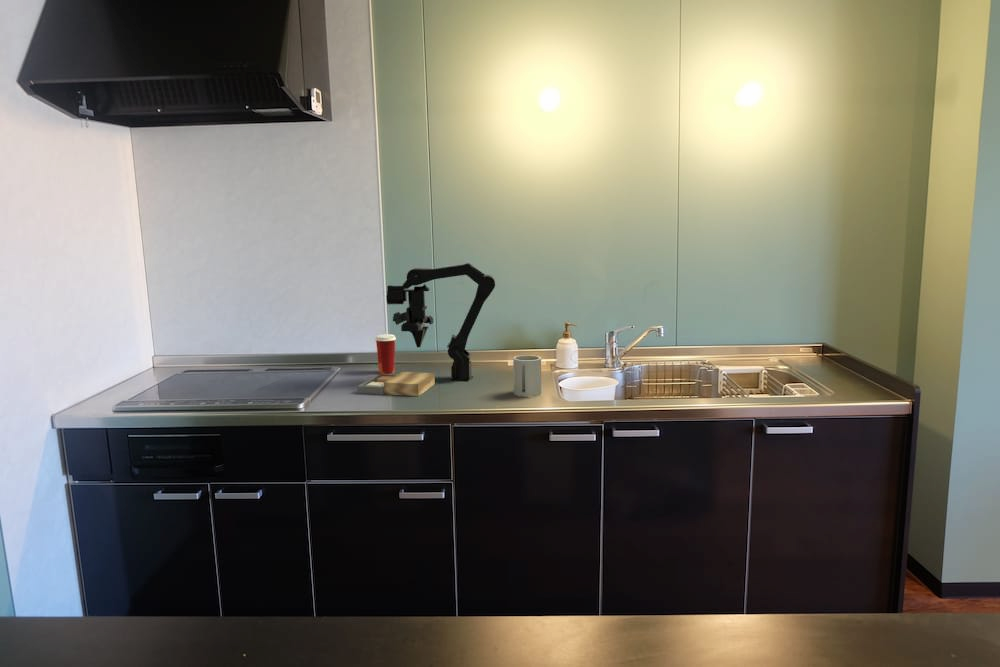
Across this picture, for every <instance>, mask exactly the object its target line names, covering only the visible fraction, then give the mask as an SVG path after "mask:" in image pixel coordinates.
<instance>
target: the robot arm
mask: <svg viewBox="0 0 1000 667" xmlns="http://www.w3.org/2000/svg"><path fill="white" fill-rule="evenodd" d="M459 276H461V277H462V276H467V277H468V278H470V279H471V280H472V281H474V282H475V283H476V285H477V288H476V292H475V296H474V298H473V301H472V303H471V305H470V306H469V310H468V311H467V313H466V316H465V318H464V320H463V323H462V325H461V327H460V330H459V331H458V333H457V334H456V335H455V334H452V335H451V339H450V341H449V342H448V343H447V346H446V347H447V354H448V357H449V358H450V359H452V360H453V361H452V365H451V366H450V371H451V372H450V374H451V379H450V380H451V381H465V382H467V381H470V380H472V378H474V375H473V374H472V370H473V369H472V361H471V360H470V359H471V353H470V352H469V351H468V350H466V346H467V343H468V338H469V336H470V333H471V331H472V329H473V327H474V325H475V322H476V320H477V319H478V316H479V314H480V312H481V310H482V307H483V306H484V303H485V301H486V300H488V297H490V295H491V294H492V293H493V291H494V289H495V287H496V281H495V278H494V277H493V276H492V275H490V274H485V273H484V272H482V271H481V270H479V269H478V268H476V267H475V266H473V264H471V263H469V262H465V263H463V264H456V265H449V266H442V267H435V268H426V267H413V268H412V269H410V270H409V271H408V272H407V273H406V280H405V281H404V282H403V283H402V285H391V284H390V285H387V287H386V289H387V291H386V295H385V296H386V304H387V305H388V306H389V305H390V306H391V305H392V306H393V305H405V304H404V303H405V302H407V301H408V306H407V308H406V309H405V310H406V311H404V312H402V313H401V312H399V311H398V312H397V311H396V312H394V313H393V316H392V321H393V322H395V325H396V326H398V325H399V324H401V325H400V330H401V331H400V332H409V333H411V334H412V337H413V339H414V343H415V346H416V348H421V347H422V344H423V342H424V339H425V336H426V334H427V331H428V330H429V326H425V324H429V325H433V324H434V318H433V317H432V315H426V310H427V308H428V306H427V305H426V302H425V301H426V300H425V297H426V296H425V292H429V291H430V290H431V289H430V287H429V286H427V285H426V283H428V282H431V281H433V280H439V279H446V278H453V277H459ZM422 284H423V285H422ZM421 285H422V286H421ZM413 286H414V287H413ZM411 287H413V288H412V289H411Z"/></svg>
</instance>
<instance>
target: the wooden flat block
mask: <svg viewBox="0 0 1000 667" xmlns="http://www.w3.org/2000/svg"><path fill="white" fill-rule="evenodd" d="M395 375H396V376H394V377H392V378H390V379H389V380H387V381H385V382H384V395H393V396H394V395H395V396H396V395H397V396H411V397H413V396H414V397H420V396H421V395H422V394H423V393H425V392H426V391H427V390H429V389H431V388H432V387H433V386H434V385H435V379H436V378H435V376H436V375H435V372H419V371H418V372H415V371H401V372H399V373H398V374H395Z"/></svg>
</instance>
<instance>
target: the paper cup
mask: <svg viewBox="0 0 1000 667" xmlns="http://www.w3.org/2000/svg"><path fill="white" fill-rule="evenodd" d="M396 339H397V338H396V336H395V335H394V334H390V333H386V334H384V333H383V334H378V335H376V337H375V343H376V350H377V351H376V353H377V362H378V363H377V364H378V372H379V374H391V375H392V374H393V373H395V366H396V365H395V360H396Z"/></svg>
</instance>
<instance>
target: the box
mask: <svg viewBox="0 0 1000 667" xmlns="http://www.w3.org/2000/svg"><path fill="white" fill-rule="evenodd" d="M396 375H397V374H392V373H391V374H381V373H379V374H378V375H375V376H373V377H371V378H369V379H368V380H365V381H364V382H363V383H360V384H359V385H357V393H358V394H361V395H363V394H365V395H377V396H379V395H382V396H384V395H385V394H384V387H380V386H366V385H367V384H369V383H371V382H377V379H378V378H379V377H381V376H390V377H394V376H396Z"/></svg>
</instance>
